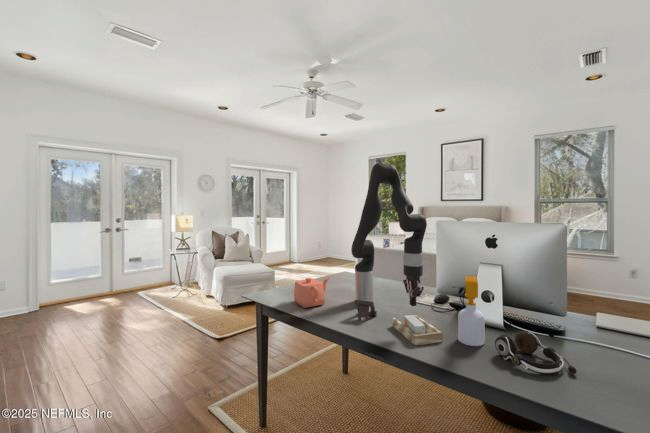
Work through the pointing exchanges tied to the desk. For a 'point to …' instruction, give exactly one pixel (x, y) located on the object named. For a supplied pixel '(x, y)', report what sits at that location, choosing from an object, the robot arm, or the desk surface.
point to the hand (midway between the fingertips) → (413, 305)
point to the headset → (529, 346)
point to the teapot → (310, 292)
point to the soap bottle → (471, 317)
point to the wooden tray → (419, 339)
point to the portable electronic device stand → (365, 309)
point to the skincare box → (414, 324)
